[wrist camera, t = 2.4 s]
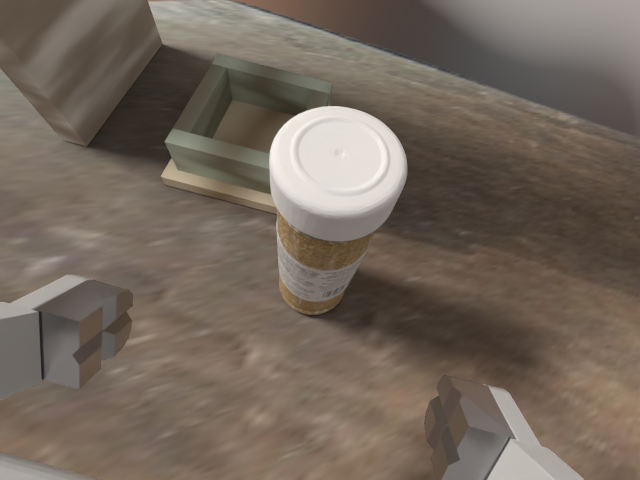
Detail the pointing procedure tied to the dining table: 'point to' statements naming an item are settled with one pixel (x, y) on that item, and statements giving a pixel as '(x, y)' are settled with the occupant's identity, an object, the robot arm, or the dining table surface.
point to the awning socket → (122, 71)
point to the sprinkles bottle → (330, 199)
